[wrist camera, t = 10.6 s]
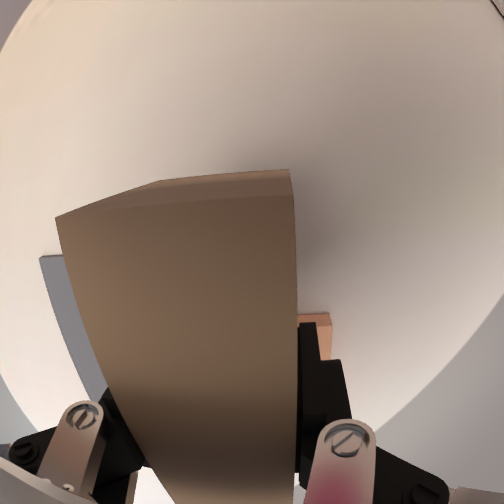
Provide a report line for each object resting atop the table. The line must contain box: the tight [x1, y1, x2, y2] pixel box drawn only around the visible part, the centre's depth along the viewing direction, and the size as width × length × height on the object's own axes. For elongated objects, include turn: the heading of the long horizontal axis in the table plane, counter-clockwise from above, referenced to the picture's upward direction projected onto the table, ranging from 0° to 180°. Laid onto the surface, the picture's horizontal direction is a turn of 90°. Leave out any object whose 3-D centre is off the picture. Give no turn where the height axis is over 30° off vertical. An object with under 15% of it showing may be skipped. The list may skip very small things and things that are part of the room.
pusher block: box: [55, 169, 297, 504], centre depth 9 cm, size 12×4×5 cm, turn 4°
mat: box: [39, 255, 108, 403], centre depth 21 cm, size 9×15×1 cm, turn 4°
